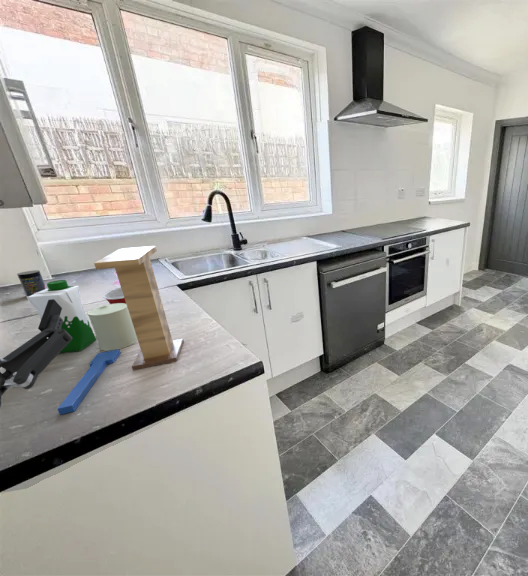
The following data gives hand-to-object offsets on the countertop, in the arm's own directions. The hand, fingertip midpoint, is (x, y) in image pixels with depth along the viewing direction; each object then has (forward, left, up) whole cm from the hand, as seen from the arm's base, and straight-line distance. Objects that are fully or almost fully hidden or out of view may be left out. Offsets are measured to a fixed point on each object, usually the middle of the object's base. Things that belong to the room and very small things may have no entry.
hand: (4, 310), depth 55 cm
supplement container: (-9, +119, -26) cm, 122 cm away
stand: (+20, +16, -26) cm, 36 cm away
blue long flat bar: (+6, +16, -26) cm, 31 cm away
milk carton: (+3, +42, -26) cm, 49 cm away
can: (+13, +35, -26) cm, 45 cm away
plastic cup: (+18, +51, -26) cm, 59 cm away
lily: (+22, +96, -26) cm, 101 cm away
